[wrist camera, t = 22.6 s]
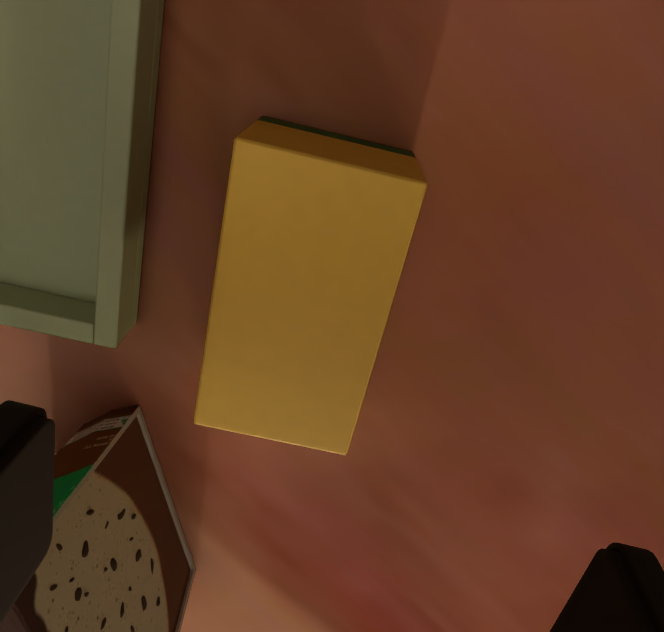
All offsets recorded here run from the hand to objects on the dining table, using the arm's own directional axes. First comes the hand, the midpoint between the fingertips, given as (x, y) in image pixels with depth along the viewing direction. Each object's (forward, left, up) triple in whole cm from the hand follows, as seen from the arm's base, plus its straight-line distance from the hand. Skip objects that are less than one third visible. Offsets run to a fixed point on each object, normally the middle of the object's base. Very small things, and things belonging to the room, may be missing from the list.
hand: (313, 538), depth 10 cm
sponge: (+1, 0, -12) cm, 12 cm away
